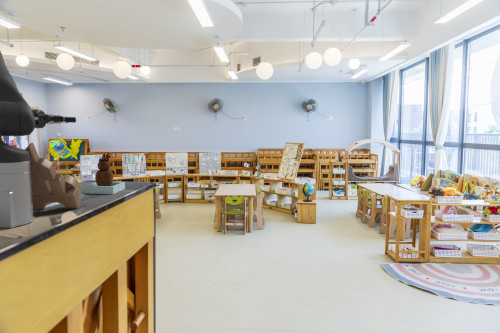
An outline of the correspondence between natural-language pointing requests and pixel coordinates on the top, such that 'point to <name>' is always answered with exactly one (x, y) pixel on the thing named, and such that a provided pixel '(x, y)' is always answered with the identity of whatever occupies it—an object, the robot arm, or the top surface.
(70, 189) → the wooden toy
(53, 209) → the top surface
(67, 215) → the top surface
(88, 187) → the pale teal tray
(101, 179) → the wooden figurine
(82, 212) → the top surface
